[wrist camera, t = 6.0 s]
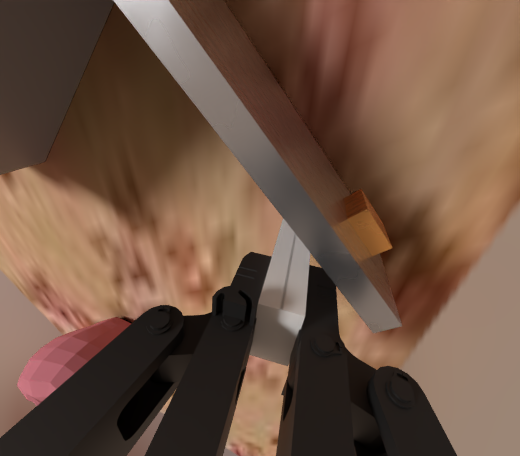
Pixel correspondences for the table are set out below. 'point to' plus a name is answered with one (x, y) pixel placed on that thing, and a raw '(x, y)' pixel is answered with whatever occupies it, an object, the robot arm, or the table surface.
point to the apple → (65, 358)
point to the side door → (271, 144)
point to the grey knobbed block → (41, 71)
